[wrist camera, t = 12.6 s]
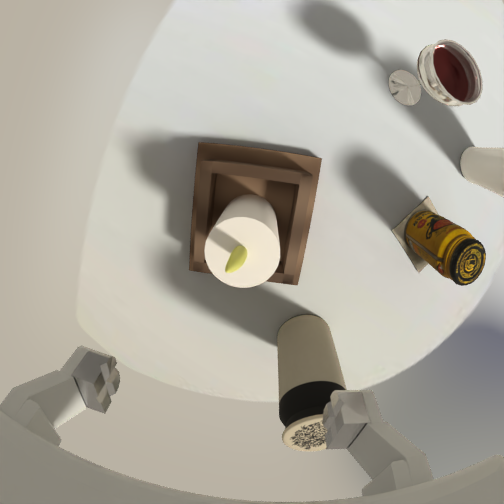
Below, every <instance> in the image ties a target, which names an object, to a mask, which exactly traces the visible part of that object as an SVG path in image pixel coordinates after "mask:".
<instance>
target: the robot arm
mask: <svg viewBox="0 0 504 504" xmlns="http://www.w3.org/2000/svg"><path fill="white" fill-rule="evenodd" d="M116 364H117V363H116V359H115V357H113V356H110V355H107V354H104V353H101V352H98V351H95V350H92V349H90V348H87V347H84V346H80V347H78V348H77V349H76V350H75V352H74V353H73V354H72V356H71V357H70V358H69V360H68V361H67V362H66V364H65V365H64V366H63V368H62V369H61V370H60V371H58V370H56V371H53V372H51V373H49V374H46V375H44V376H42V377H39V378H37V379H34V380H32V381H29V382H27V383H24V384H22V385H19V386H17V387H14V388H13V389H12V390H11V391H10V393H9V394H8V395H7V397H6V398H5V400H4V401H3V402H2V403H1V405H0V504H504V457H502V456H501V455H494V456H491V457H489V458H487V459H485V460H483V461H481V462H478V463H477V464H474V465H472V466H469V467H467V468H465V469H462V470H460V471H457V472H454V473H451V474H449V475H446V476H443V477H440V478H437V479H433V475H432V472H431V469H430V466H429V463H428V460H427V457H426V454H425V453H424V452H422V451H421V450H420V449H418V448H417V447H416V446H415V445H414V444H413V443H411V442H410V441H409V440H408V439H407V438H405V437H404V436H403V435H402V434H400V433H399V432H398V431H397V430H396V429H395V428H393V427H392V426H391V425H390V424H389V423H388V422H383V419H382V416H381V413H380V410H379V407H378V404H377V401H376V398H375V396H374V392H373V391H372V390H335V391H333V392H332V394H331V396H330V398H331V401H330V402H329V403H327V404H326V406H325V408H324V412H323V426H324V427H325V428H326V429H327V430H328V431H327V432H326V434H325V440H326V447H327V449H348V451H349V452H350V453H351V455H352V456H353V457H354V458H355V459H356V461H357V462H358V463H359V464H360V465H361V467H362V468H363V469H364V470H365V471H366V473H367V474H368V475H369V476H370V477H371V479H372V481H371V482H370V483H368V484H367V485H366V486H365V487H364V488H363V489H362V495H363V496H362V497H356V498H348V499H339V500H329V501H315V502H261V501H247V500H236V499H227V498H219V497H212V496H206V495H200V494H195V493H190V492H184V491H180V490H176V489H171V488H167V487H163V486H159V485H156V484H152V483H149V482H145V481H142V480H139V479H135V478H132V477H129V476H126V475H123V474H121V473H118V472H115V471H112V470H110V469H107V468H104V467H102V466H99V465H96V464H95V463H92V462H90V461H87V460H85V459H83V458H81V457H79V456H77V455H74V454H72V453H70V452H68V451H66V450H64V449H62V448H60V447H58V446H59V444H60V443H61V438H60V436H59V435H58V434H57V432H56V431H55V428H57V427H58V426H60V425H61V424H63V423H65V422H66V421H68V420H69V419H71V418H72V417H74V416H76V415H77V414H79V413H80V412H82V411H83V410H85V409H86V408H87V407H88V408H91V409H93V410H96V411H99V412H102V413H106V411H107V409H108V407H109V405H110V403H111V398H110V396H111V395H113V394H115V393H116V391H117V389H118V387H119V383H120V375H119V372H118V370H117V369H116V368H115V366H116Z"/></svg>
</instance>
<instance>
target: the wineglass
mask: <svg viewBox="0 0 504 504" xmlns="http://www.w3.org/2000/svg"><path fill="white" fill-rule="evenodd" d="M417 73H418V77H419V80H417V79H416V78H415V77H414V75H412V74H411V73H409V72H408V71H405V70H397V71H394V72H393V73H392V74H391V75H390V78H389V88H390V91H391V93H392V95H393V97H394V98H395V99H396V100H397V101H398V102H400V103H401V104H404V105H407V106H408V105H414V104H416V103H417V102H418V101H419V100H420V97H421V87H420V85H422V86H423V88H424V89H425V90H426V92H427V93H428V94H429V95H430V96H431V97H432V98H434V99H435V100H436V101H438V102H440V103H442V104H445V105H447V106H461V105H463V104H466V105H471V104H473V103H475V102H477V100H478V99H479V98H480V96H481V93H482V77H481V73H480V70H479V68H478V65H477V63H476V61H475V60H474V58H473V57H472V56H471V54H470V53H469V52H468V51H467V50H466V49H465V48H464V47H463V46H462V45H460V44H458V43H456V42H455V41H452V40H447V39H445V40H440V41H438V42H437V43H436V44H431V45H428V46H426V47H425V48H424V49H423V50H422V51H421V52H420V55H419V57H418V60H417Z"/></svg>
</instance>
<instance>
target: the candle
mask: <svg viewBox="0 0 504 504" xmlns="http://www.w3.org/2000/svg"><path fill="white" fill-rule="evenodd" d="M204 252H205V260H206V262H207V265H208V267H209V269H210V270H211V272H212V273H213V274H214V276H215V277H217V278H218V279H219V280H220V281H222V282H224V283H226V284H228V285H230V286H234V287H239V288H249V287H253V286H257V285H259V284H261V283H263V282H265V281H267V280H268V279H269V278H270V277H271V276H272V275H273V274H274V272H275V270H276V269H277V267H278V264H279V260H280V243H279V235H278V227H277V219H276V214H275V211H274V209H273V207H272V206H271V204H270V203H269V202H268V201H267V200H266V199H264V198H262V197H260V196H257V195H253V194H246V195H241V196H238V197H236V198H235V199H233V200H232V201H231V202H230V203H229V204H228V205H227V207H226V208H225V210H224V211H223V213H222V214H221V216H220V218H219V219H218V221H217V222H216V224H215V225H214V227H213V229H212V230H211V232H210V234H209V236H208V238H207V240H206V243H205V250H204Z"/></svg>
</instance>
